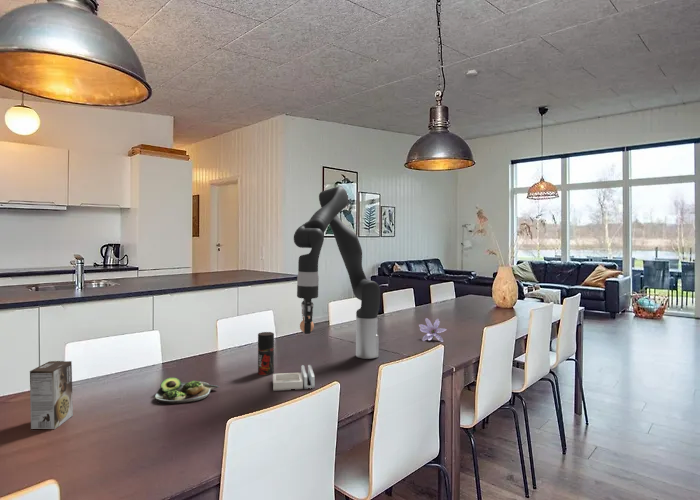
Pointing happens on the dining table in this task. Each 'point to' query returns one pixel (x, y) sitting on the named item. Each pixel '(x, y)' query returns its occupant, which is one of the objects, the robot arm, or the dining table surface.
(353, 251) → the robot arm
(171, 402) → the salad plate
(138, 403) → the dining table surface
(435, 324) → the water lily
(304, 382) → the grey grooved channel
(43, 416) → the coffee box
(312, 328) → the ball
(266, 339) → the deodorant
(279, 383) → the dish
